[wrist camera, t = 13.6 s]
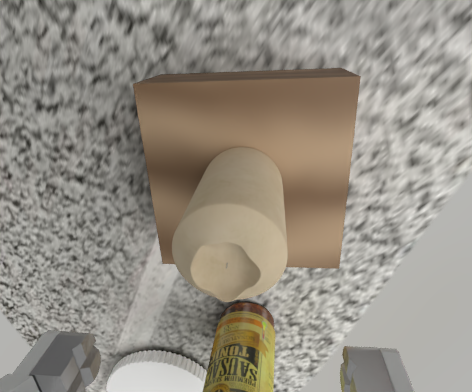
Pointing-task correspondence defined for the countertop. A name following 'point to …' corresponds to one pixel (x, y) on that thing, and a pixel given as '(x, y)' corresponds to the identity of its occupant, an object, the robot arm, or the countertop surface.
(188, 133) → the walnut stand
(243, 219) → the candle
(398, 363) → the robot arm
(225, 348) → the sauce bottle
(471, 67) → the countertop surface
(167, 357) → the plastic lid
